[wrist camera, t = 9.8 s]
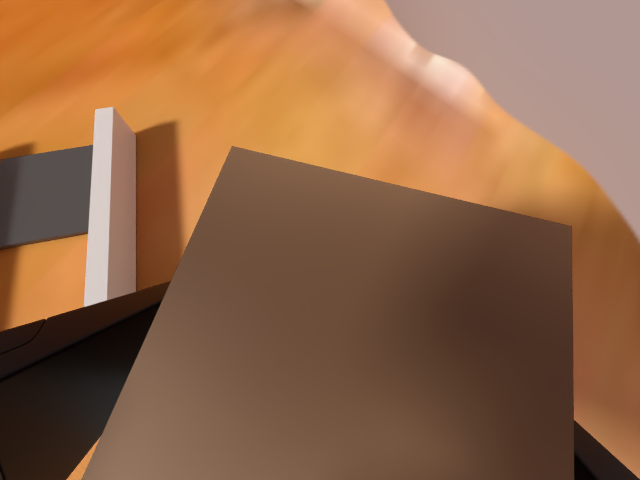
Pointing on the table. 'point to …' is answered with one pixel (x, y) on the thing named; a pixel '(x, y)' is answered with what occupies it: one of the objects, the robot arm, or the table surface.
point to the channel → (79, 203)
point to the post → (351, 339)
